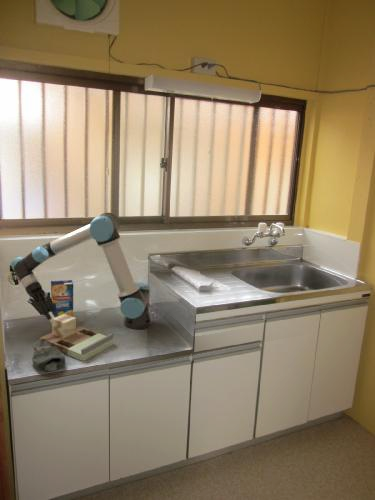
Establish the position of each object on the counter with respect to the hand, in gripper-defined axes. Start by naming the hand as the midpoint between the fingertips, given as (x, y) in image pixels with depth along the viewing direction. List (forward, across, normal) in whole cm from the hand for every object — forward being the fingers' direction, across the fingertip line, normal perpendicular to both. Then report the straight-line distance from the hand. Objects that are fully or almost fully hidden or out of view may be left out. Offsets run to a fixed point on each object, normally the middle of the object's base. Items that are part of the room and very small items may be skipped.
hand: (55, 323), depth 209 cm
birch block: (+7, 0, +1) cm, 7 cm away
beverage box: (-3, -15, -13) cm, 20 cm away
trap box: (+11, 0, +2) cm, 11 cm away
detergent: (+15, +18, +5) cm, 24 cm away
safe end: (+21, 0, +12) cm, 24 cm away
